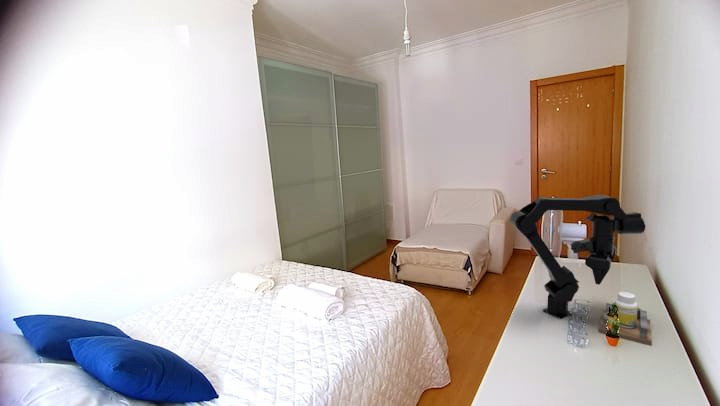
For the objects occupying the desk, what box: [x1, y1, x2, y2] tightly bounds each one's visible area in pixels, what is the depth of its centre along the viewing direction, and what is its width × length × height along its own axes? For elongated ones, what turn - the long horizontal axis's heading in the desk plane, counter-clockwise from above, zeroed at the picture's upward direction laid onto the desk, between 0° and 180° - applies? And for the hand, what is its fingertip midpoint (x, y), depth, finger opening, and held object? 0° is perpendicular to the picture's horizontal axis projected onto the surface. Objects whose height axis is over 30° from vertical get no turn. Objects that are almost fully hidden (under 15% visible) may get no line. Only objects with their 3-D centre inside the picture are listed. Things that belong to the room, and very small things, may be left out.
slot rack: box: [598, 302, 653, 346], centre depth 99 cm, size 14×12×4 cm
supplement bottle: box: [614, 291, 638, 328], centre depth 98 cm, size 5×5×10 cm
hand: (599, 279), depth 106 cm, fingers open, 9 cm apart
